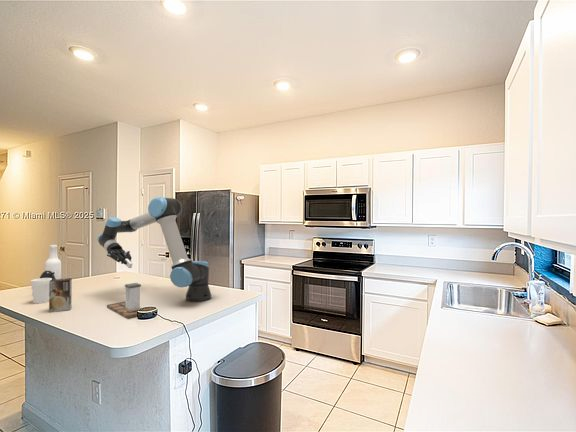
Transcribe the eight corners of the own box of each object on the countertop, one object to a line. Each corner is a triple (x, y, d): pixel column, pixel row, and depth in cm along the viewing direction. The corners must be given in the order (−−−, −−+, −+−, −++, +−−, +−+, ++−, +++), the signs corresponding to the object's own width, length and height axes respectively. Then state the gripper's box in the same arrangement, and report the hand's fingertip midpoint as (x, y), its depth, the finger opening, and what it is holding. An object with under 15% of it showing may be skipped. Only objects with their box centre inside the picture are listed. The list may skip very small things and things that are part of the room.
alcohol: (53, 290, 201) (54, 245, 201) (40, 290, 201) (41, 245, 202) (64, 287, 210) (64, 244, 210) (51, 287, 210) (52, 244, 210)
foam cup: (26, 303, 172) (27, 280, 173) (44, 299, 181) (45, 277, 181) (37, 305, 169) (37, 281, 169) (55, 301, 177) (55, 278, 178)
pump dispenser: (45, 297, 186) (46, 272, 186) (32, 296, 188) (32, 271, 188) (61, 293, 196) (61, 269, 196) (48, 292, 198) (48, 268, 198)
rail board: (106, 307, 166) (106, 304, 166) (126, 303, 174) (126, 300, 174) (127, 319, 148) (128, 315, 148) (148, 314, 156) (148, 311, 156)
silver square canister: (124, 310, 156) (125, 284, 156) (135, 307, 160) (136, 282, 161) (129, 312, 153) (129, 286, 153) (140, 310, 157) (140, 284, 157)
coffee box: (72, 307, 166) (72, 277, 166) (70, 310, 161) (70, 279, 161) (51, 309, 162) (51, 279, 162) (48, 312, 156) (48, 281, 156)
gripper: (122, 253, 190) (140, 270, 177) (100, 254, 180) (117, 272, 167) (125, 242, 189) (143, 259, 176) (103, 242, 179) (120, 260, 165)
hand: (130, 265), depth 171 cm, fingers closed
